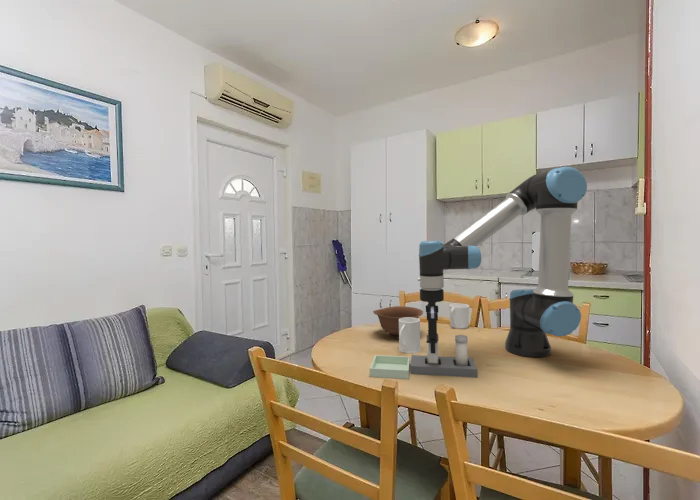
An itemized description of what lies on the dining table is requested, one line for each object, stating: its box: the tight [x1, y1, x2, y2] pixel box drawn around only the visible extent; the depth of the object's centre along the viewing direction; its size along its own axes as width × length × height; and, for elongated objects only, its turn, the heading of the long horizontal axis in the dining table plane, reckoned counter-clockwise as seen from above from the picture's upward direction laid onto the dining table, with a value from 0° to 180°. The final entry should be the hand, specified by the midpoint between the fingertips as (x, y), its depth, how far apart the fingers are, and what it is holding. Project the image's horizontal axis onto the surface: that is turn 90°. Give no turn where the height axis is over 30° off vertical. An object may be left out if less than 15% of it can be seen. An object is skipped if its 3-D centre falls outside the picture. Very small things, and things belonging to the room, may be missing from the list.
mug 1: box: [398, 317, 422, 354], centre depth 131 cm, size 12×8×12 cm
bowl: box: [372, 305, 424, 339], centre depth 152 cm, size 22×22×11 cm
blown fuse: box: [426, 333, 439, 365], centre depth 112 cm, size 4×4×11 cm
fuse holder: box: [410, 334, 478, 379], centre depth 111 cm, size 20×10×12 cm, turn 78°
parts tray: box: [369, 354, 411, 380], centre depth 112 cm, size 12×12×3 cm
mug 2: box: [448, 302, 470, 330], centre depth 162 cm, size 11×9×10 cm
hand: (432, 359), depth 112 cm, fingers open, 5 cm apart
